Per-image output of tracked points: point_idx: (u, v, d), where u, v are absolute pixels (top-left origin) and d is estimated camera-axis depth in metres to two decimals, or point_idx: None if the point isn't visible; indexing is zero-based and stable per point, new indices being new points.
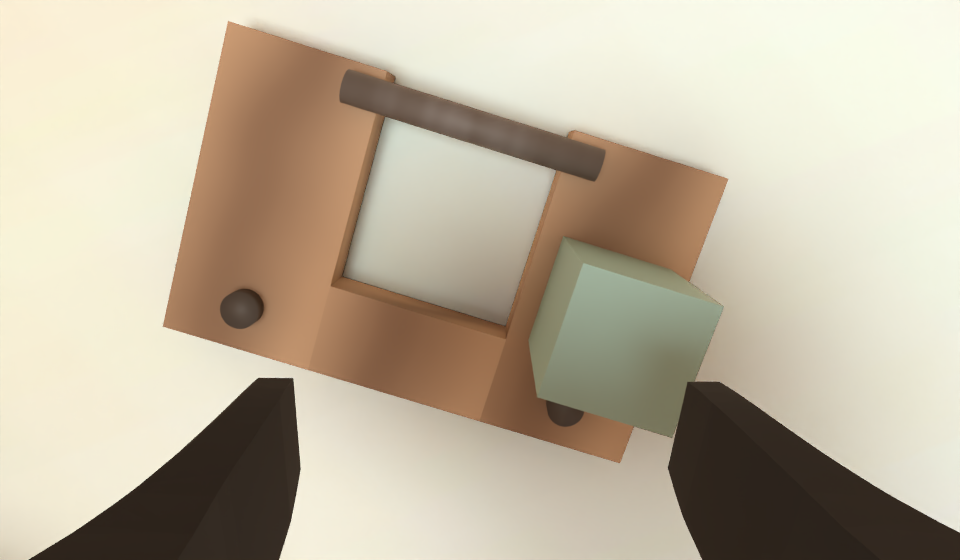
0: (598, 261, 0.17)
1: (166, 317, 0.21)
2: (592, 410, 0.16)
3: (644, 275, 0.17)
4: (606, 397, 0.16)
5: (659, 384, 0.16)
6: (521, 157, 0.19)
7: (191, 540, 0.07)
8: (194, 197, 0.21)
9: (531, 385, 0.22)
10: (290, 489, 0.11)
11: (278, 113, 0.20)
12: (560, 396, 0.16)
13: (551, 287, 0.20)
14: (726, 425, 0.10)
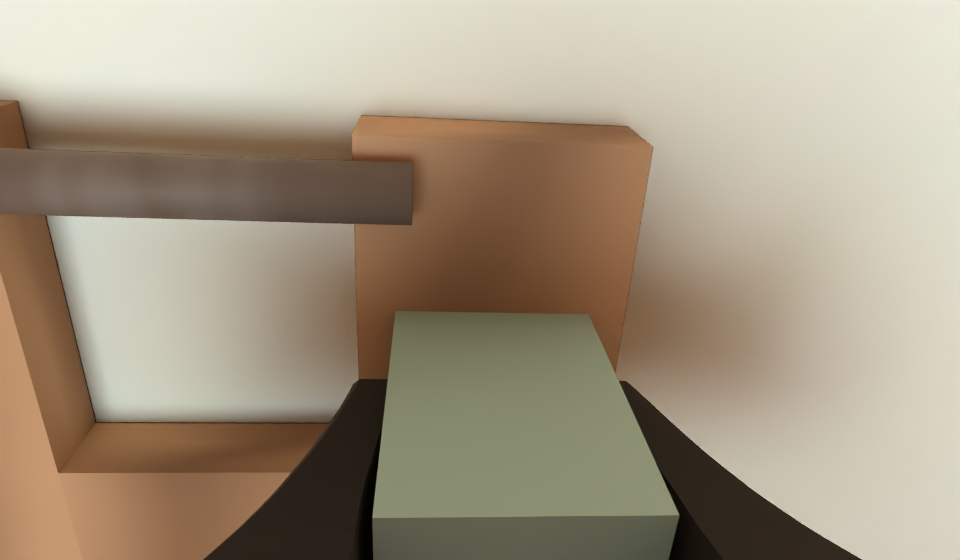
0: (424, 446, 0.09)
1: None
2: None
3: (520, 443, 0.09)
4: None
5: None
6: (263, 220, 0.10)
7: None
8: None
9: None
10: None
11: None
12: None
13: None
14: None
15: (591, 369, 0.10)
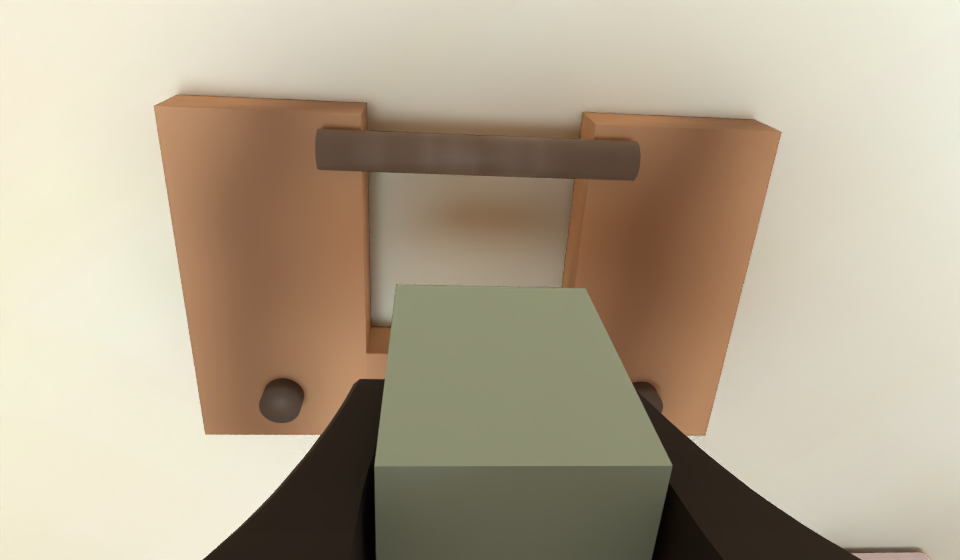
0: (425, 403, 0.09)
1: (205, 425, 0.20)
2: None
3: (518, 401, 0.09)
4: None
5: None
6: (544, 177, 0.17)
7: None
8: (189, 305, 0.18)
9: None
10: None
11: (250, 194, 0.17)
12: None
13: None
14: None
15: (588, 337, 0.11)
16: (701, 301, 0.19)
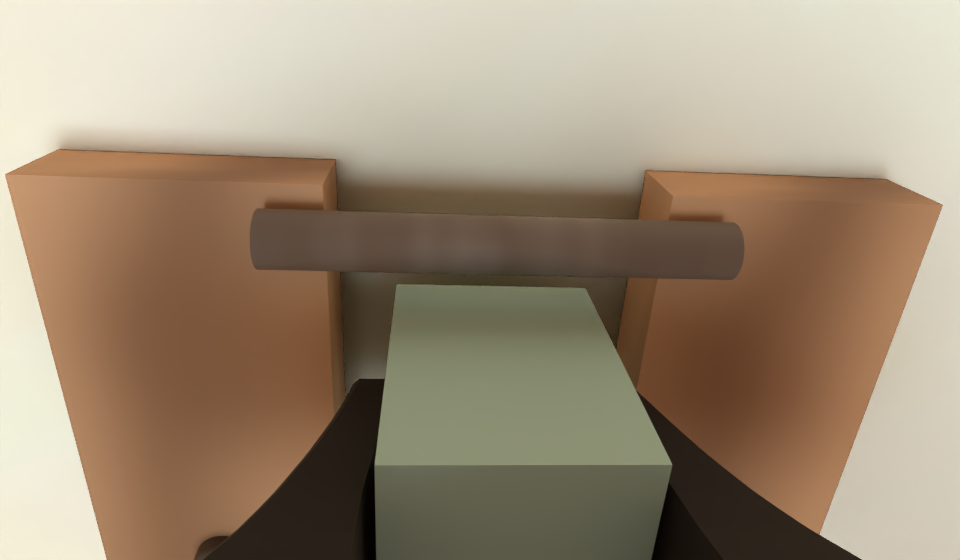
0: (425, 403, 0.09)
1: None
2: None
3: (518, 401, 0.09)
4: None
5: None
6: (597, 276, 0.11)
7: None
8: (83, 446, 0.13)
9: None
10: None
11: (162, 298, 0.11)
12: None
13: None
14: None
15: (588, 336, 0.11)
16: (807, 430, 0.14)
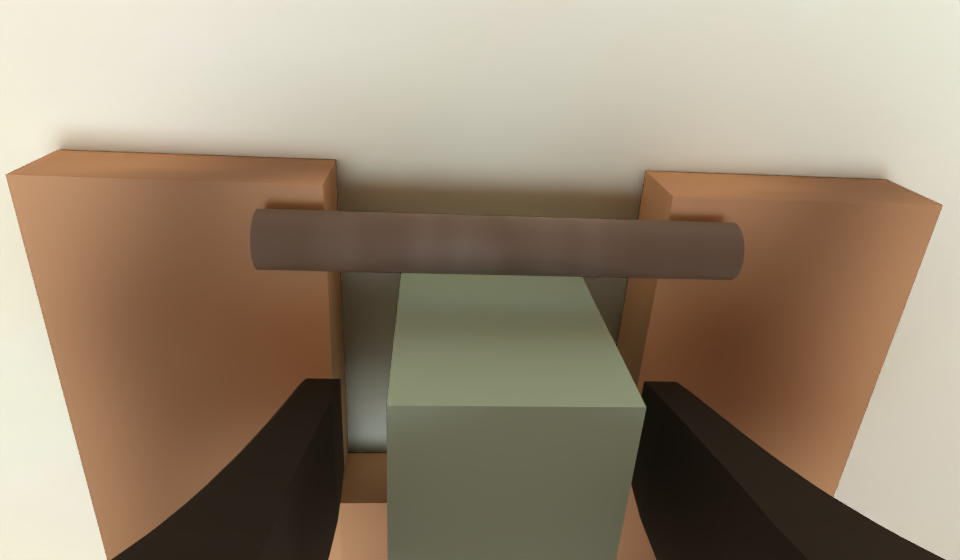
0: (430, 357, 0.10)
1: None
2: None
3: (512, 356, 0.10)
4: None
5: (570, 532, 0.10)
6: (597, 276, 0.11)
7: (267, 539, 0.07)
8: (84, 446, 0.13)
9: None
10: (337, 489, 0.11)
11: (162, 298, 0.11)
12: None
13: None
14: (677, 425, 0.10)
15: (576, 304, 0.12)
16: (807, 430, 0.14)
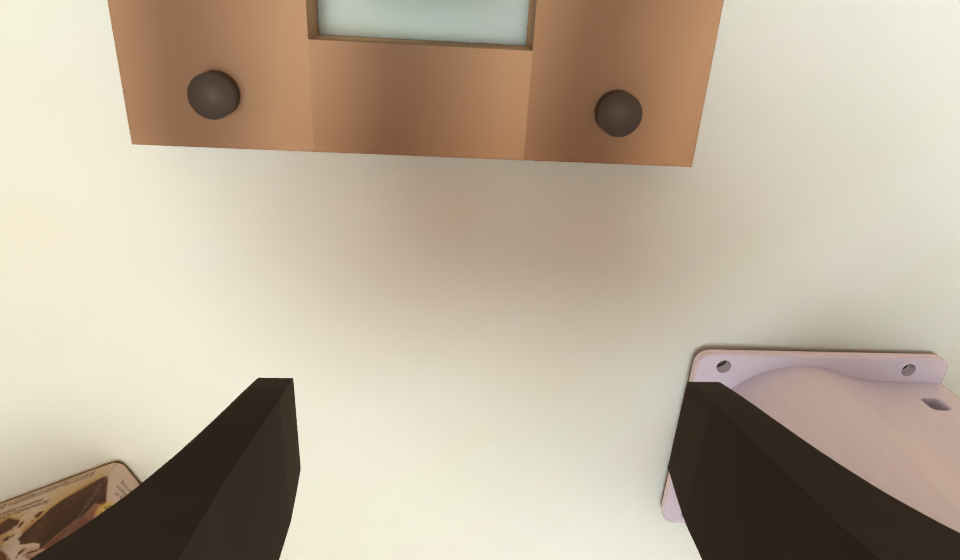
0: None
1: (132, 132, 0.18)
2: None
3: None
4: None
5: None
6: None
7: (191, 540, 0.07)
8: None
9: (574, 100, 0.18)
10: (290, 489, 0.11)
11: None
12: None
13: None
14: (726, 425, 0.10)
15: None
16: None
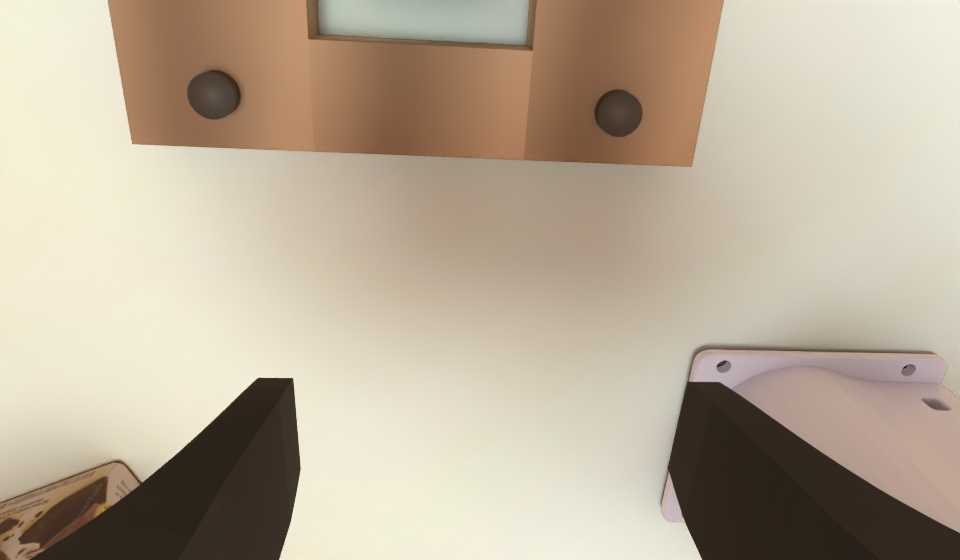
0: None
1: (132, 132, 0.18)
2: None
3: None
4: None
5: None
6: None
7: (190, 540, 0.07)
8: None
9: (574, 100, 0.18)
10: (290, 489, 0.11)
11: None
12: None
13: None
14: (726, 426, 0.10)
15: None
16: None
